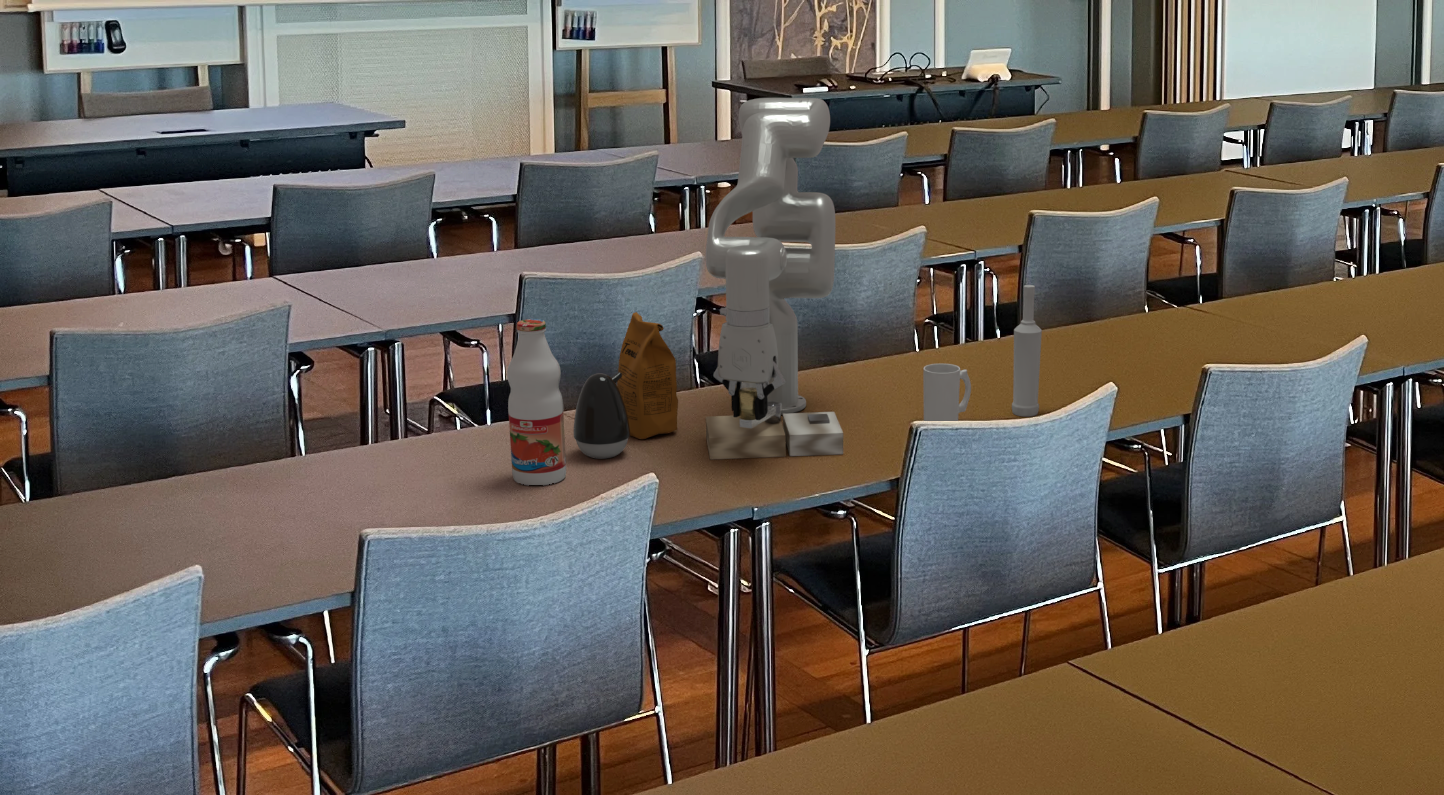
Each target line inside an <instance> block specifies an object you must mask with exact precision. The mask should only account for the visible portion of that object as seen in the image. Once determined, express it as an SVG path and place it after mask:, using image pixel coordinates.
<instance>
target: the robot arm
mask: <svg viewBox="0 0 1444 795" xmlns="http://www.w3.org/2000/svg"><path fill="white" fill-rule="evenodd" d="M830 114H831V113H830V109H829V106H828V104H827V103H826V101H824V99H822V98H818V97H817V98H816V97H759V98H754V99H749V100H747V101H745V102H743V103H742V104H741V105H740V107H739V110H738V122H739V123H738V125H739V128H740V132H741V133H740V134H741V137H742V138H741V148H740V156H739V168H738V178H737V185H736V186H735V187H733V189H732V190H731V191H730V192H729V193H727V194H726V195H725V196H724V197H723V199H721V201H720V202H719V204H717V206H716V207H715V208H714V211H713V213H712V215H711V217H710V219H709V221H708V222H709V223H708V228H707V237H706V245H705V257H704V258H705V267H706V270H707V272H708V274H710V275H711V276H712V277H714V278H715V279H722V280H723V279H724V280H725V295H726V296H725V298H726V300H725V302H726V306H725V307H721V308H720V309H719V315H720V316H724V317H725V322H724V323H722V325H721V329H720V334H719V335H720V336H719V344H718V350H717V351H718V353H717V355H718V356H717V367H716V369H715V371H714V372H713V378H715V379H716V380H717V381H718V382H719V383H722V385H723V386H724V388H725V389H726V390H727V391H728V394H729V396H731V399H730V400H731V411H732V416H733V417H736V418H737V417H739V389H742V388H748V387H751V388H756V389H757V398H756V399H755V419H756V420H761V419H762V418H764V417H765V416H766V414H767V412H768V402H769V401H774V402H781V403H782V411H780V413H781V415H782V416H783V414H788V413H799V412H801V411H802V410H803V409H805V408H806V406H807V401H806V400H807V399H806V398H805V397H804V396H802V395H800V394H799V369H798V368H799V366H798V362H799V358H798V357H799V356H798V354H799V353H798V352H799V351H798V348H799V347H798V345H799V344H798V328H799V327H798V325H799V324H798V318H797V315H796V314H795V311H794V310H793V308H792V306H791V305H790V304H789V303H788V301H786V299H823V298H826V297H828V296H829V295H830V294H831V293H832V291H833V288H834V283H835V282H834V281H835V260H836V258H835V257H836V256H835V255H836V252H835V251H836V211H835V205H834V201H833V200H832V198H831V197H830V196H829V195H828V194H826V193H823V192H816V191H815V192H813V191H811V192H809V191H807V192H806V191H802V192H801V191H798V178H799V176H798V174H799V169H798V165H797V163H796V161H795V159H808V158H809V159H811V158H815V157H818V155H819V154H820V152H821V151H822V149H823V146H824V144H825V142H826V140H827V138H828V134H829V132H830V126H831V115H830ZM751 212H752V228H753V232H754V234H755V237H753V236H725V235H726V232H727V230H728V229H729V227H730V226H731V225H732V224H733V223H735V221H737V220H738V219H740V218H741V217H743V216H746V215H747V214H750V213H751ZM782 242H784V243H786V242H789V243H792V242H797V243H803V242H805V243H808V244H810V246H811V248H793V247H792V248H791V247H785V246H784V244H783V243H782Z"/></svg>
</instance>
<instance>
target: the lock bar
mask: <svg viewBox="0 0 1444 795" xmlns="http://www.w3.org/2000/svg"><path fill="white" fill-rule="evenodd" d="M756 398H757V389H756V388H751V387H748V388H742V389H739V418H740V427H745V428H753V427H755V426H757V425H758V424H760V423H762V422H763V421H765V422H767V423H778V422H780V421H781V422H782V418H781V413H780V411H782V403H781V402H774V401H769V402H768V412H767V414H766V416H765V417H764V418H762V419H761V420H756V419H755V399H756Z"/></svg>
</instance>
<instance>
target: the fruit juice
mask: <svg viewBox="0 0 1444 795" xmlns="http://www.w3.org/2000/svg"><path fill="white" fill-rule="evenodd" d="M546 324H547V323H546V321H545V320H543V319H540V318H539V319H538V318H527V319H522V320H519V321H518V322H516V330H517V331H516V333H518V338H517V342H516V346H515V350H514V352H513V356H512V357H511V360H510V362H509V364H508V366H507V371H506V375H507V380H508V384H509V387H510V393H509V396H508V400H507V401H508V402H507V403H508V404H507V405H508V407H507V409H508V410H507V411H508V423H509V425H508V426H509V442H510V456H511V458H510V459H511V460H510V461H511V473H512V478H513V480H514V482H515V483H517V484H519V483H521V484H520V485H523V484H524V486H529V485H543V486H549V484H550V485H553V484H552V483H554V484H556V483H559V482H561V481H563V480H564V479H565V478H566V474H567V457H566V456H567V455H566V441H565V440H566V437H565V416H564V401H563V396H562V393H561V391H560V389H559V385H560V380H561V375H562V374H561V367H560V364H559V362H558V360H557V359H556V358H555V356H554V355H553V353H552V351H551V348H550V346H549V343H548V340H547V338H546V335H545V333H546V331H547V325H546Z"/></svg>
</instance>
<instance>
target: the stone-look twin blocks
mask: <svg viewBox="0 0 1444 795" xmlns="http://www.w3.org/2000/svg"><path fill="white" fill-rule="evenodd" d="M843 431H844V430H843V429H842V427H841V425H840V422H839V420H838V418H837V415H836V412H835V411H820V412H794V413H788V414H782V420H781V421H780V422H778V423H767V422H765V421H763V422H762V423H760V424H758V425H757V426H755V427H753V428H745V427H740V418H739V417H737V418H736V417H733V415H717V416H715V415H714V416H713V415H712V416H705V439H706V444H707V450H708V455H709V460H726V459H729V460H730V459H732V460H733V459H751V458H752V459H753V458H754V459H755V458H779V457H781V458H782V457H783V458H784V457H786V456H787V455H786V454H787V453H786V452H788V454H789V457H797V456H798V457H802V456H803V457H804V456H807V457H808V456H827V455H828V456H829V455H831V456H832V455H833V456H834V455H843V454H844V432H843ZM786 449H787V450H786Z"/></svg>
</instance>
